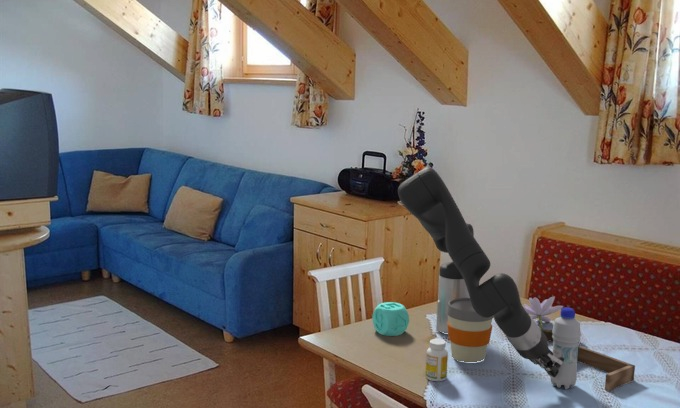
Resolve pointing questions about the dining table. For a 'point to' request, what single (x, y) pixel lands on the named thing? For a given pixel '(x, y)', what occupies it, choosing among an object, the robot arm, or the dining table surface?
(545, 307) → the water lily
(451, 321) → the reusable coffee cup
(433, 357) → the supplement bottle
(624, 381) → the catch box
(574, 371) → the bottle
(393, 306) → the decorative dice
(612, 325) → the dining table surface
